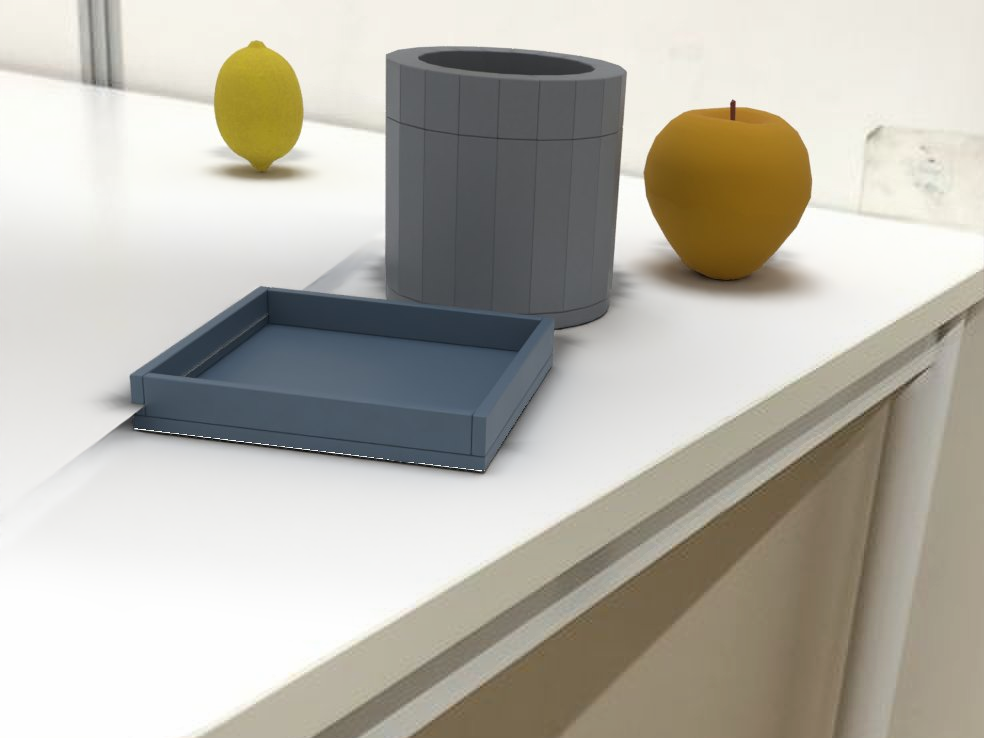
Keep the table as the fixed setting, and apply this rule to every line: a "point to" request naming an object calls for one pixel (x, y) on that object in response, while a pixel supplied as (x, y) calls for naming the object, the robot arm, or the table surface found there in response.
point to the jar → (502, 180)
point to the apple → (727, 187)
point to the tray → (350, 377)
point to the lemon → (258, 105)
